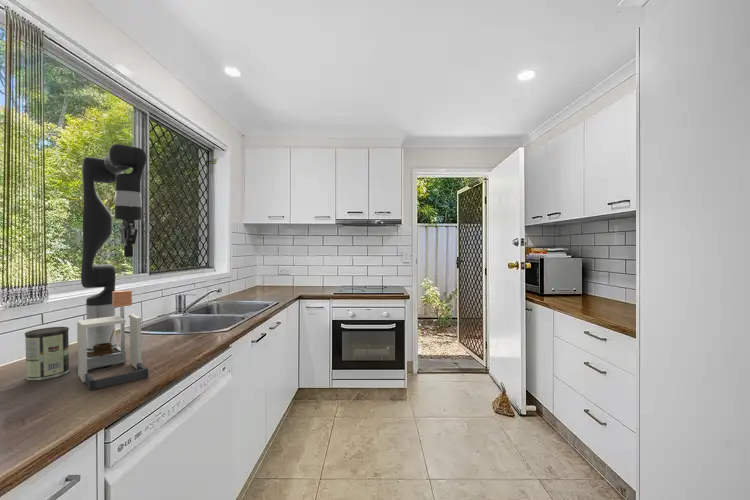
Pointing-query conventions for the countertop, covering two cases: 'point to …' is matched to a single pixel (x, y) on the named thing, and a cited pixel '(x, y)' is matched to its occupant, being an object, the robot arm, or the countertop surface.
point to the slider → (119, 354)
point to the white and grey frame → (84, 324)
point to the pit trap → (116, 378)
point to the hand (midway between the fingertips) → (128, 256)
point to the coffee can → (47, 353)
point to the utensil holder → (102, 348)
